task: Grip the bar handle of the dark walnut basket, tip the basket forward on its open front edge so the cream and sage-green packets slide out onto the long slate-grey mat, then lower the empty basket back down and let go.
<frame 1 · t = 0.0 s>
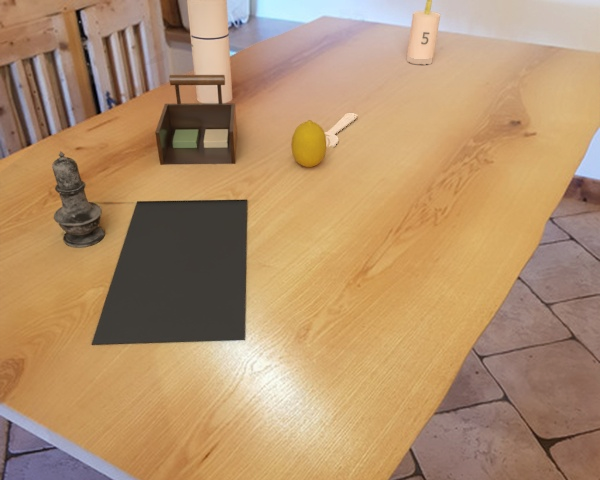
cylindrical container: (215, 101, 111), on the table
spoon: (334, 133, 100), on the table
green packet: (186, 141, 95), point 1 cm above the table, touching basket
mat: (186, 237, 73), on the table
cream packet: (216, 141, 95), point 1 cm above the table, touching basket
basket: (197, 119, 90), point 5 cm above the table, hinge at 0.0°, touching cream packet, green packet
lemon: (308, 169, 89), on the table
salt shaker: (84, 237, 73), on the table
candle: (419, 62, 134), on the table
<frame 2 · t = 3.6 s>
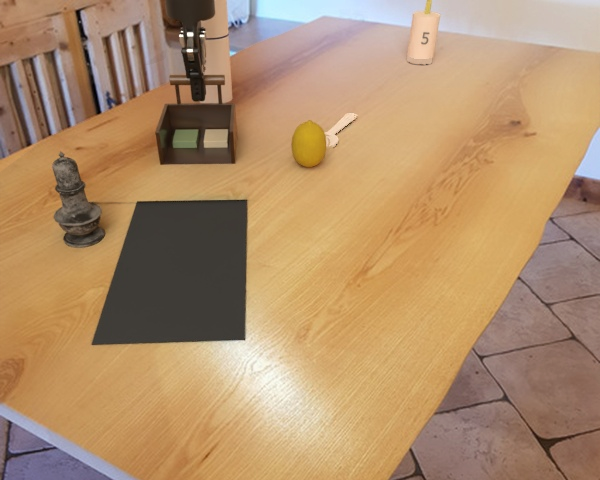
hand: (199, 97, 93), 7 cm above the table, tool pointing down, fingers closed on basket
basket: (197, 119, 90), point 5 cm above the table, hinge at 0.0°, touching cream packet, green packet, gripper
everything else where it was.
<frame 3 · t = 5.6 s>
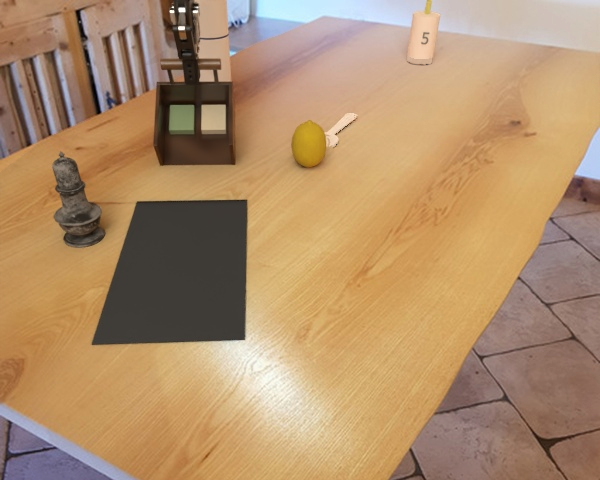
hand: (192, 81, 85), 12 cm above the table, tool pointing down, fingers closed on basket
green packet: (182, 121, 91), point 5 cm above the table, tilted 30°, touching basket
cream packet: (214, 121, 91), point 5 cm above the table, tilted 30°, touching basket
basket: (194, 113, 86), point 8 cm above the table, hinge at 30.0°, touching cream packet, green packet, gripper
everything else where it was.
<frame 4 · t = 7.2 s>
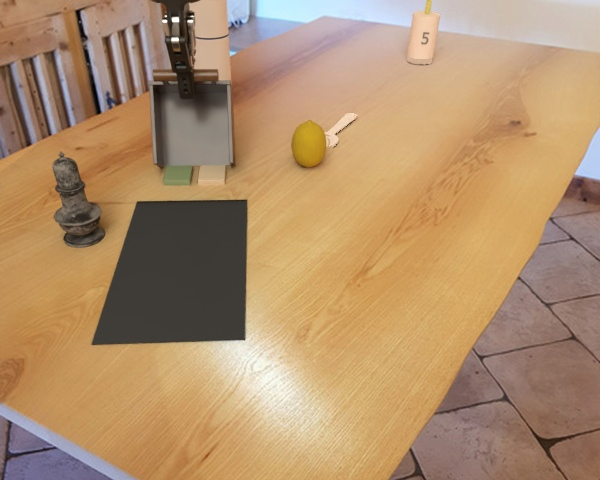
hand: (188, 95, 79), 12 cm above the table, tool pointing down, fingers closed on basket
green packet: (178, 172, 84), point 1 cm above the table, tilted 180°, touching mat
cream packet: (212, 172, 84), point 1 cm above the table, tilted 180°, touching mat
basket: (192, 121, 82), point 8 cm above the table, hinge at 57.8°, touching gripper, mat
everything else where it was.
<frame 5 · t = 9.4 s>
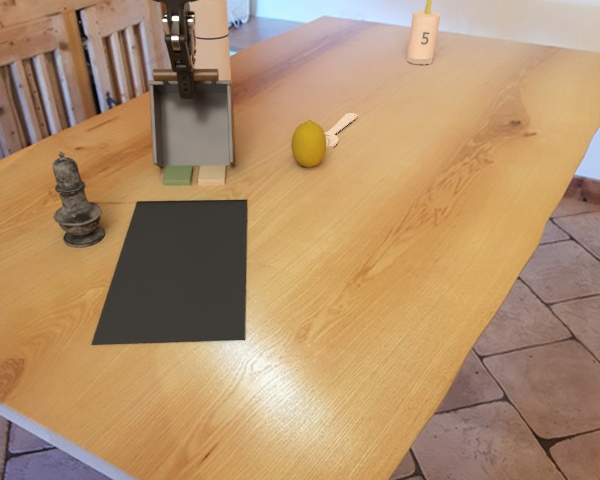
hand: (188, 94, 79), 12 cm above the table, tool pointing down, fingers closed on basket
basket: (192, 121, 82), point 8 cm above the table, hinge at 57.3°, touching gripper, mat
everything else where it was.
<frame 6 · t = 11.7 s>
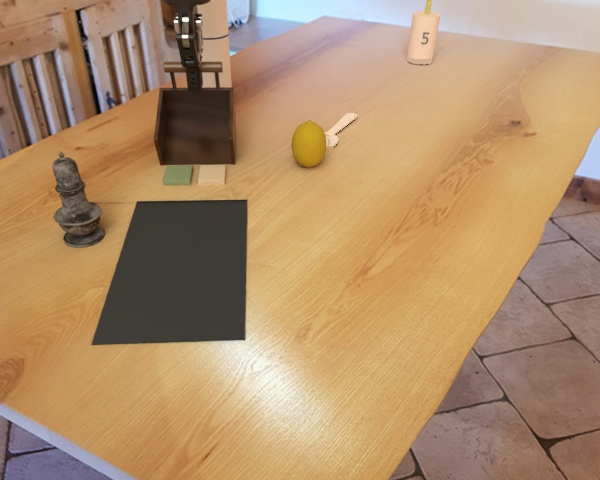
hand: (195, 88, 88), 10 cm above the table, tool pointing down, fingers closed on basket
basket: (195, 114, 87), point 7 cm above the table, hinge at 18.9°, touching gripper
everything else where it was.
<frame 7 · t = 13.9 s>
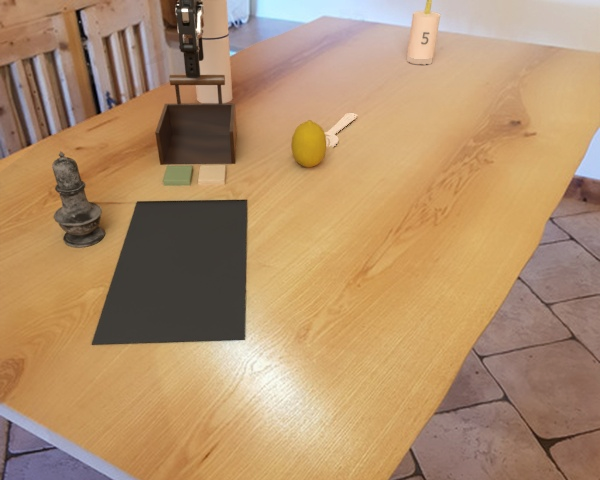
hand: (195, 68, 89), 12 cm above the table, tool pointing down, fingers open, 8 cm apart
basket: (197, 119, 90), point 5 cm above the table, hinge at 0.0°
everything else where it was.
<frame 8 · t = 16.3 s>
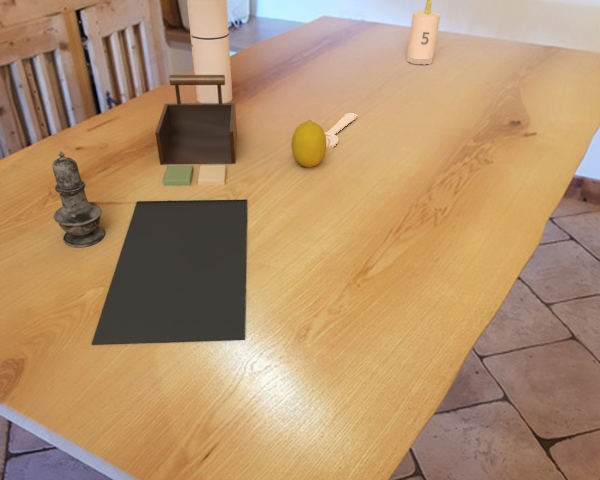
nothing on the table moved.
at the end: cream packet touching mat; green packet touching mat; basket at +0° (first picture: +0°) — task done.
